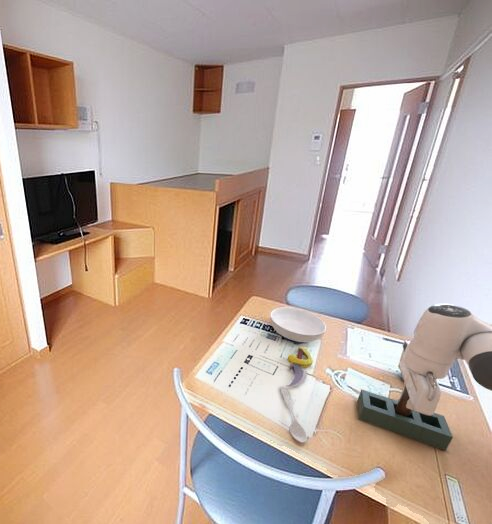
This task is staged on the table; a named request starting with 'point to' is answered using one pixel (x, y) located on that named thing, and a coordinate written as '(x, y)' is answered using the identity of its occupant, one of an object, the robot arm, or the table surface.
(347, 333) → the table surface
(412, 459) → the table surface
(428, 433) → the peg block
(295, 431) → the spoon
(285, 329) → the serving bowl
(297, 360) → the knife
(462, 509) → the table surface
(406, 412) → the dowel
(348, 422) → the table surface
